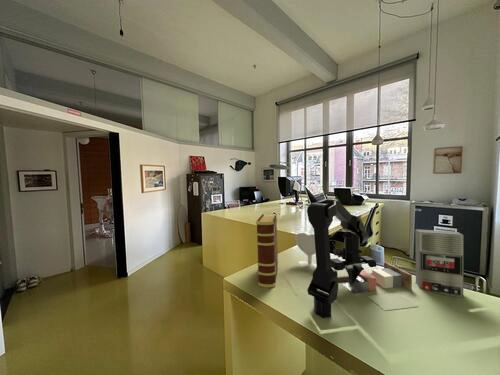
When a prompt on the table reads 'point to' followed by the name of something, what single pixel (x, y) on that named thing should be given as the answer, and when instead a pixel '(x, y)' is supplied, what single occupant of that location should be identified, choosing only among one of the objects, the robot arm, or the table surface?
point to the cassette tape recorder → (440, 261)
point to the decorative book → (267, 250)
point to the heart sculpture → (306, 246)
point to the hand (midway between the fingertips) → (352, 282)
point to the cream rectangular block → (383, 278)
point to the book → (394, 277)
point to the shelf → (405, 275)
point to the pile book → (391, 301)
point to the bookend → (357, 285)
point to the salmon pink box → (369, 279)
